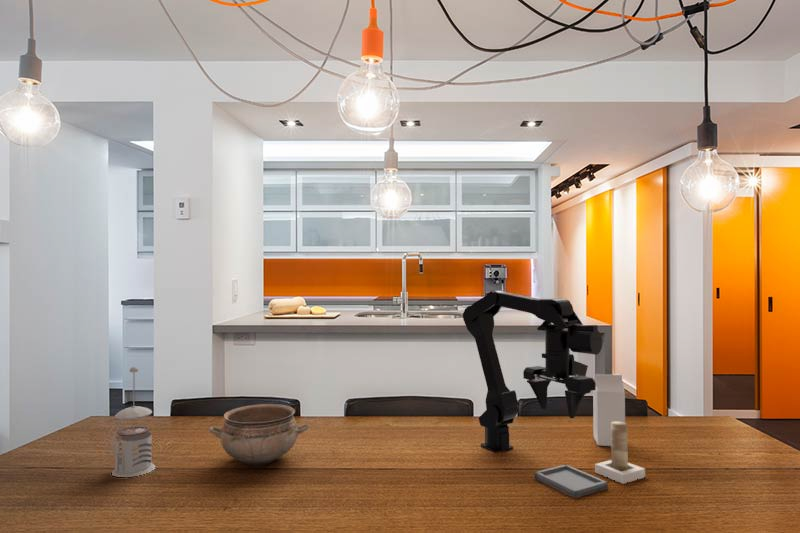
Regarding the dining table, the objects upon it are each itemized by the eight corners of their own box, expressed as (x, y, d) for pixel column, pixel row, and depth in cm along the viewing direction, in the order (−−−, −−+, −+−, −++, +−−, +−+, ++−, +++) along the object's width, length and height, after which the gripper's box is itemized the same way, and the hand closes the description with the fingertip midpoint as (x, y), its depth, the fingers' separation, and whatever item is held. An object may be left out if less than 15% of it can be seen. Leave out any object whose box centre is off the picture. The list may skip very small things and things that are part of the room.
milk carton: (625, 447, 140) (624, 377, 140) (597, 446, 141) (597, 376, 142) (619, 439, 147) (619, 372, 147) (593, 437, 148) (592, 371, 149)
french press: (165, 465, 128) (165, 364, 128) (126, 483, 117) (126, 373, 117) (134, 461, 131) (134, 362, 131) (93, 478, 120) (94, 370, 120)
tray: (534, 478, 119) (534, 472, 119) (566, 470, 124) (566, 464, 124) (574, 498, 108) (574, 491, 108) (607, 488, 113) (607, 481, 113)
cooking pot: (312, 446, 141) (312, 402, 141) (306, 473, 122) (306, 421, 123) (218, 450, 139) (218, 404, 139) (198, 477, 120) (198, 425, 120)
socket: (595, 472, 123) (594, 463, 123) (616, 466, 126) (616, 458, 126) (622, 483, 116) (622, 474, 116) (645, 477, 119) (645, 468, 120)
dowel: (608, 473, 122) (607, 422, 122) (618, 471, 123) (617, 420, 124) (621, 478, 119) (620, 426, 119) (631, 476, 120) (630, 424, 120)
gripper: (611, 352, 122) (611, 418, 122) (553, 343, 139) (553, 401, 139) (578, 356, 117) (578, 425, 117) (521, 346, 134) (522, 406, 133)
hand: (557, 413), depth 127 cm, fingers open, 9 cm apart
